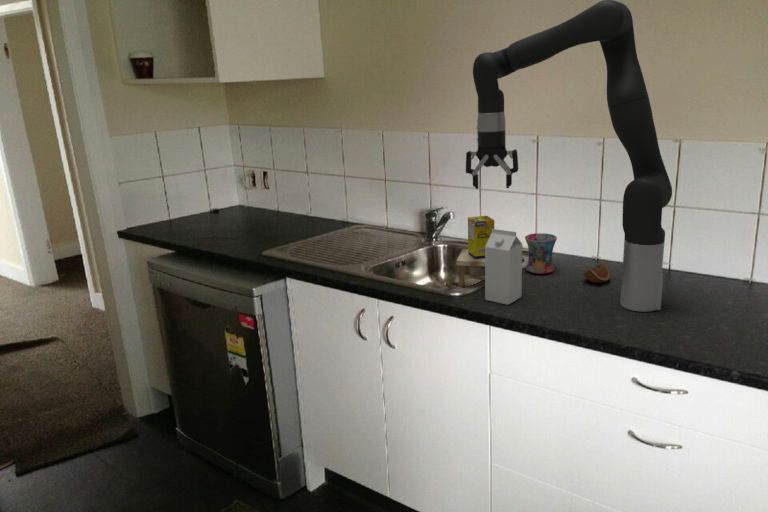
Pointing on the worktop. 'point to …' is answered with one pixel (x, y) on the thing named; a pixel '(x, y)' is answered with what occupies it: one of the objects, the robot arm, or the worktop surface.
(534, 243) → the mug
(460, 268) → the stool
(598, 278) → the fruit slice
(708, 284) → the worktop surface
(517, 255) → the white milk carton
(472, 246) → the supplement box
